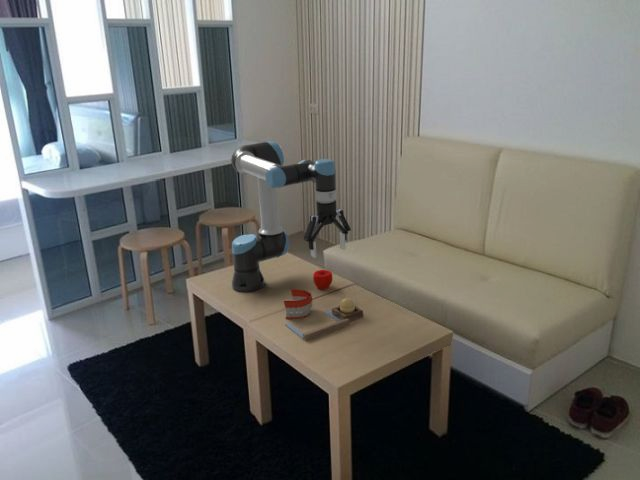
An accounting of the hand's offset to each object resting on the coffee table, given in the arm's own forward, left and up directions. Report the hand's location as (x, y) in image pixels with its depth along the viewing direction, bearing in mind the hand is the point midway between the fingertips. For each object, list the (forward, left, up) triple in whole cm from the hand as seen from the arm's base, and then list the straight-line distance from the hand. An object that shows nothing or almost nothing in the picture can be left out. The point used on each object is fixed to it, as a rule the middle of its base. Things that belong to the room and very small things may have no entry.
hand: (328, 252), depth 224 cm
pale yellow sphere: (+4, +6, -26) cm, 27 cm away
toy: (-10, -8, -28) cm, 31 cm away
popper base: (+4, +6, -28) cm, 29 cm away
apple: (-25, +13, -28) cm, 40 cm away
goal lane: (+2, -8, -28) cm, 29 cm away
